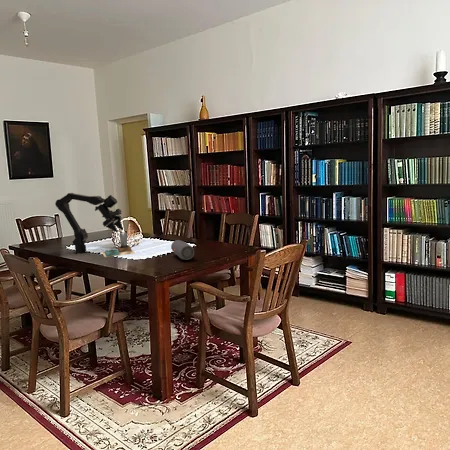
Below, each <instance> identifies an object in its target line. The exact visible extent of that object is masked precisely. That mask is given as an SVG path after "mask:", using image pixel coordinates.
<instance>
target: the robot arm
mask: <svg viewBox="0 0 450 450" xmlns="http://www.w3.org/2000/svg"><path fill="white" fill-rule="evenodd" d="M72 200H74V201H75V200H76V201H78V202H79V201H80V202H85V203H89V204H90V205H93V206H95V208H94V211H95V212H96V211H99V212H100V214H101V215H102V216H101V217H102V218H104V219H105V220H104V221H103V222H102V225H103V227H106V228H108V229H109V230H112V231H113V232H115V233H118V232H119V231H118V229H120V230H121V231H123V230H124V228H123V225H122V223H121V221H122V216H121V215H122V212H123V211H122V209H120V208H116V209H115V210H114V211H113V210H110V209H111V208H113V207H114V206H115V205H117V203H118V200H117V199H116V198H115V197H114V196H113V195H112V194H110V195H108V196H107V197H106V198H102V196H100V195H85V194H79V193H73V192H69V193H67V194H66V195H64V196H62V197H61V198H60V199H57V200H56V201H55V207H56V208H57V209H58V210H59V211H60V212H61V213H63V216H64V217H65V219H66V220H67V222H68V223H69V225H70V227H71V229H72V230H73V235H74V239H73V240H72V245H74V250H75V251H74V252H75V254H83V253H84V254H85V253H86V252H87V246H86V243H87V240H88V238H89V237H88V236H89V235H88V234H89V233H88V232H87V230H86V229H85V228H81V227H80V226H81V225H80V224H79V222H78V221H77V220H76V218H75V216H74V215H73V213H72V211H71V209H70V204H69V203H71V201H72ZM109 208H110V209H109ZM117 228H118V229H117Z"/></svg>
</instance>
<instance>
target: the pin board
mask: <svg viewBox="0 0 450 450" xmlns="http://www.w3.org/2000/svg"><path fill="white" fill-rule="evenodd" d="M101 253H102V255H103V257H104V258H108V257H109V258H110V257H117V256H125V255H133V254H136V252H135V251H134V250H133V249H132V247H131V245H128V248H121V246H117V248H116V249H108V250H105V251H101Z"/></svg>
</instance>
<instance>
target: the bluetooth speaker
mask: <svg viewBox="0 0 450 450" xmlns="http://www.w3.org/2000/svg"><path fill="white" fill-rule="evenodd" d="M170 247H171V248H170V249H171V250H172V253H174V254H175V255H176V256H177V257H178V258H179V259H180V260H182V261H184V260H185V261H187V260H192V258H193V257H194V256H195V250H194V248H193V246H191V245H190V244H189V243H187V242H185V241H183V240H180V239H177V240H174V241H173V242H172V243H171V246H170Z"/></svg>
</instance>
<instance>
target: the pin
mask: <svg viewBox="0 0 450 450" xmlns="http://www.w3.org/2000/svg"><path fill="white" fill-rule="evenodd" d="M119 241H120V247H121V248H128V246H129V245H127V233H126V232H125V231H124V232H120V233H119Z"/></svg>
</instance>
